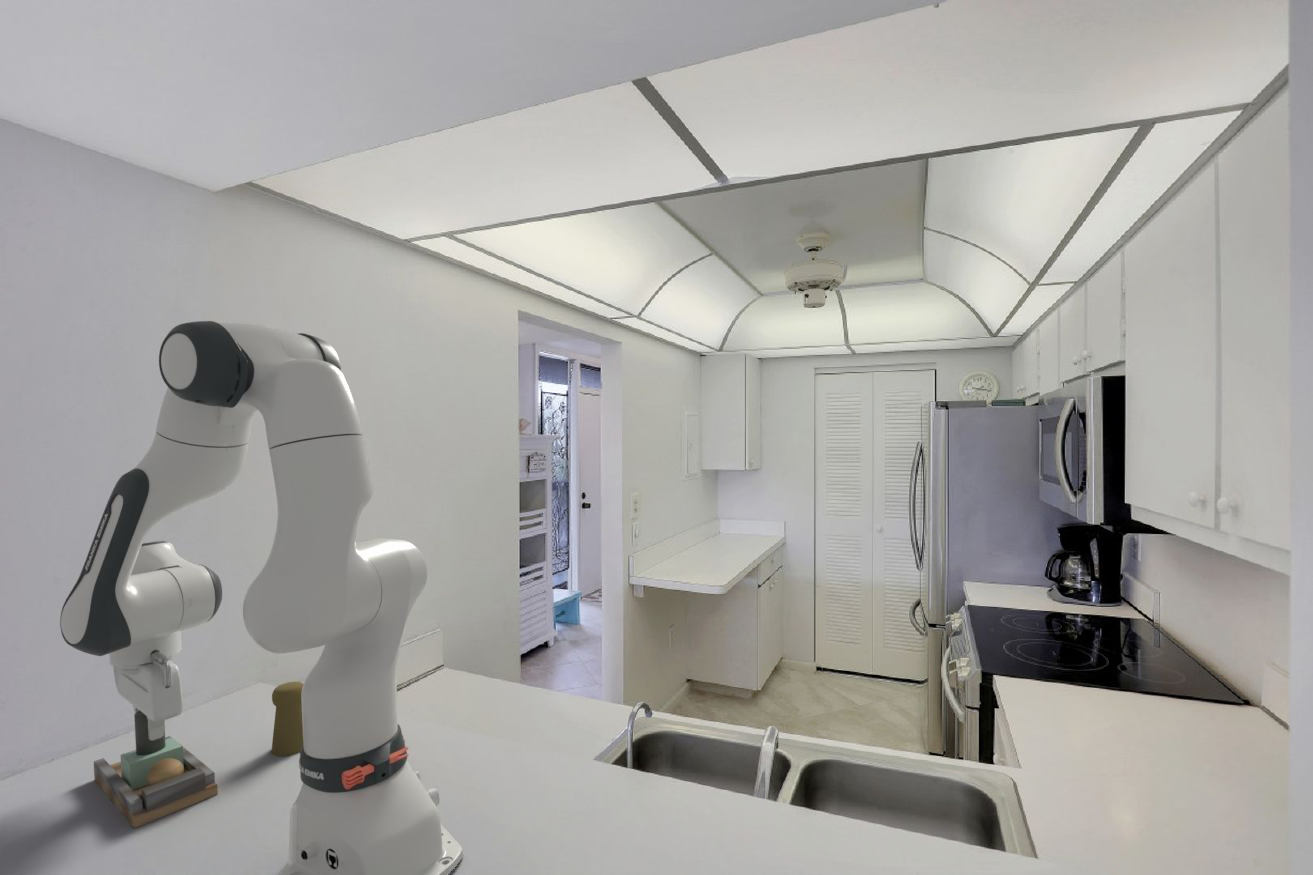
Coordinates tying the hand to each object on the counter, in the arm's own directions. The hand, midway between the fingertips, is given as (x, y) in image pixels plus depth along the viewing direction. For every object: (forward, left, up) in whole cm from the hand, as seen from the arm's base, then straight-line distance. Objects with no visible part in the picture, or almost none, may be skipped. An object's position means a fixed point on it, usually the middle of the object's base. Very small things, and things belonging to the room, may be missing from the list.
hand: (150, 733), depth 99 cm
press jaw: (0, 0, -6) cm, 7 cm away
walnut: (-7, 0, -4) cm, 8 cm away
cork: (-6, -18, -8) cm, 21 cm away
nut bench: (-1, 0, -8) cm, 8 cm away
